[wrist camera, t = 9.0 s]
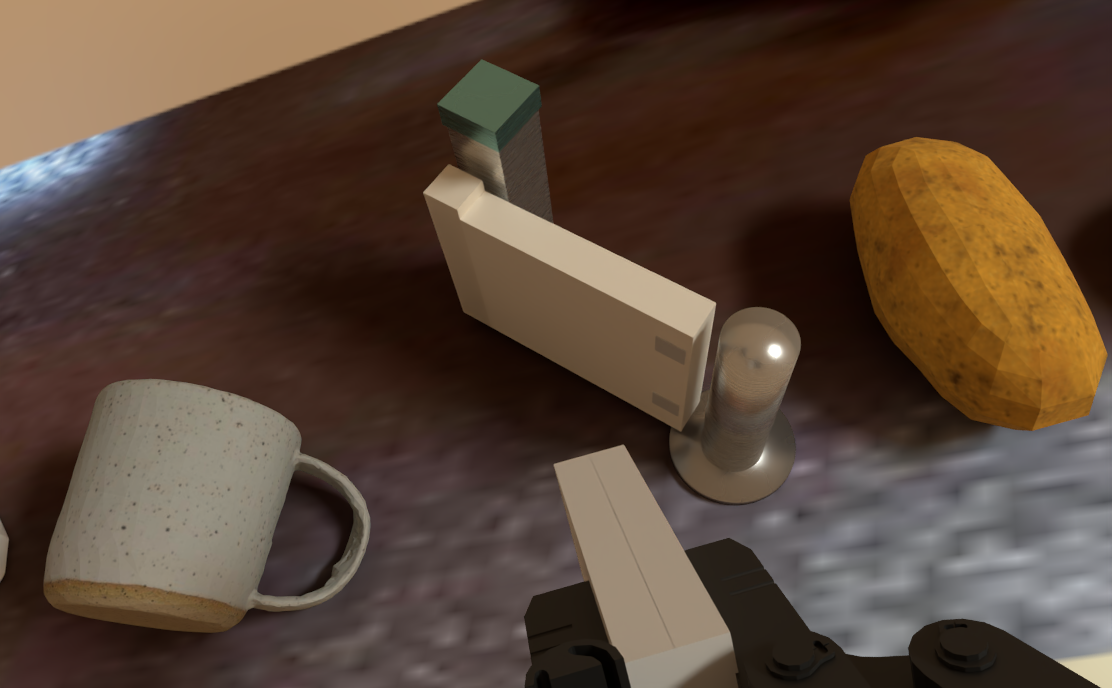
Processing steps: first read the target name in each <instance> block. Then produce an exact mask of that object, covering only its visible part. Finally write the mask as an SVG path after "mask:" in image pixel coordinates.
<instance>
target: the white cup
mask: <svg viewBox="0 0 1112 688" xmlns="http://www.w3.org/2000/svg"><path fill="white" fill-rule="evenodd" d="M8 544H9V538H8V536H7V533H6V531H5V529H4V526H3V524H2V522H1V520H0V582H1V580H2V578H3V577H4V575H5V570H6V561H7V552H8Z"/></svg>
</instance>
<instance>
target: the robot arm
mask: <svg viewBox="0 0 1112 688" xmlns="http://www.w3.org/2000/svg"><path fill="white" fill-rule="evenodd" d="M554 468H555V472H556V476H557V480H558V484H559V487H560V491H561V495H562V499H563V503H564V507H565V510H566V514H567V518H568V522H569V526H570V530H571V534H572V537H573V541H574V545H575V549H576V553H577V557H578V560H579V564H580V568H581V572H582V576H583V579H584V582H581V583H578V584H574V585H571V586H567V587H564V588H560V589H557V590H554V591H550V592H547V593H543V594H540V595H536V596H533V598H532V600H531V602H530V605H529V607H528V609H527V612H526V614H525V616H524V619H525V625H526V631H527V637H528V643H529V649H530V654H531V661H532V666H531V667H530V669H529V670H528V672H527V673H526V680H525V688H1100V687H1098V686H1097V685H1095V684H1093V683H1092V682H1090V681H1088V680H1087V679H1085V678H1083V677H1082V676H1080V675H1078V674H1077V673H1075V672H1073V671H1071V670H1070V669H1068V668H1066V667H1065V666H1063V665H1061V664H1060V663H1058V662H1056V661H1055V660H1053V659H1051V658H1049V657H1048V656H1046V655H1044V654H1043V653H1041V652H1039V651H1038V650H1036V649H1034V648H1033V647H1031V646H1029V645H1027V644H1026V643H1024V642H1022V641H1021V640H1019V639H1017V638H1016V637H1014V636H1012V635H1011V634H1009V633H1007V632H1006V631H1004V630H1001V629H999V628H997V627H994V626H992V625H990V624H987V623H985V622H979V621H973V620H967V619H953V620H941V621H938V622H935V623H932V624H929V625H926V626H924V627H923V628H922V629H921V630H919V631H918V632H917V633H916V634H914V635H913V637H912V639H911V642H910V645H909V647H908V650H909V656H890V657H860V656H854V655H849V654H845V652H844V651H843V650H842V648H841V647H839V646H838V645H837V644H836V643H835V642H834V641H832V640H831V639H830V638H828V637H826V636H823V635H820V634H818V633H815V632H812V631H810V630H809V628H808V627H807V626H806V624H805V623H804V622H803V620H802V619H801V617H800V616H799V615H798V613H797V612H796V610H795V609H794V608H793V606H792V605H791V604H790V602H789V601H788V599H787V598H786V597H785V595H784V594H783V593H782V591H781V590H780V588H779V587H778V586H777V584H776V583H775V584H774V581H773V579H772V577H771V576H770V575H769V573H768V572H767V571H766V569H765V570H764V567H763V565H762V564H761V562H760V561H759V560H758V558H757V557H756V555H755V554H754V553H753V551H752V550H751V549H749V548H748V547H746V546H744V545H742V544H740V543H738V542H736V541H734V540H732V539H730V538H727V539H723V540H720V541H716V542H713V543H709V544H706V545H702V546H699V547H695V548H692V549H688V550H685V551H684V550H683V548H682V546H681V545H680V543H679V541H678V539H677V538H676V536H675V534H674V532H673V530H672V529H671V527H670V525H669V523H668V522H667V520H666V518H665V516H664V515H663V513H662V511H661V509H660V508H659V506H658V504H657V502H656V500H655V499H654V497H653V495H652V493H651V492H650V490H649V488H648V486H647V485H646V483H645V481H644V479H643V478H642V476H641V474H640V472H639V471H638V469H637V467H636V465H635V463H634V462H633V460H632V458H631V456H630V455H629V453H628V451H627V449H626V448H625V446H624V445H621V446H617V447H613V448H610V449H606V450H602V451H599V452H595V453H592V454H588V455H584V456H581V457H577V458H574V459H570V460H566V461H563V462H559V463H556V464H554Z"/></svg>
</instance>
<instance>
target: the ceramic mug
mask: <svg viewBox="0 0 1112 688" xmlns="http://www.w3.org/2000/svg"><path fill="white" fill-rule="evenodd" d="M300 446H301V435H300V433H299V431H298V429H297V428H296V426H295V425H294V424H293V423H292V422H291V421H289V420H288V419H286V418H285V417H284V416H282V415H281V414H280V413H278V412H276V411H274V410H272V409H270V408H268V407H266V406H263V405H261V404H259V403H257V402H253V401H251V400H249V399H247V398H244V397H241V396H238V395H235V394H232V393H229V392H223V391H219V390H216V389H212V388H209V387H205V386H200V385H195V384H191V383H185V382H176V381H168V380H159V379H144V380H125V381H119V382H115V383H112V384H110V385H108V386H106V387H105V388H104V389H103V390H102V391H101V392H100V393H99V395H98V397H97V398H96V402H95V405H94V409H93V412H92V416H91V419H90V422H89V426H88V429H87V432H86V435H85V438H84V441H83V444H82V447H81V450H80V453H79V456H78V459H77V462H76V465H75V468H74V471H73V475H72V479H71V482H70V485H69V488H68V492H67V495H66V498H65V501H64V504H63V508H62V511H61V513H60V516H59V518H58V521H57V524H56V527H55V530H54V533H53V536H52V539H51V542H50V546H49V550H48V554H47V560H46V568H45V575H44V583H43V589H44V595H45V597H46V598H47V600H48V602H49V603H50V604H51V605H52V606H53V607H54V608H57V609H59V610H62V611H64V612H67V613H71V614H74V615H79V616H83V617H88V618H93V619H98V620H103V621H110V622H116V623H122V624H129V625H135V626H142V627H150V628H157V629H165V630H175V631H187V632H203V633H214V632H223V631H227V630H228V629H230V628H231V627H233V626H235V625H236V624H238V623H239V622H240V621H241V620H242V619H243V617H244V616H245V614H246V612H247V610H249V609H251V608H257V609H262V610H267V611H291V610H302V609H307V608H310V607H313V606H316V605H318V604H321V603H323V602H325V601H327V600H329V599H331V598H332V597H333V596H334V595H336V594H337V593H338V592H339V591H341V590H342V589H343V588H344V586H345V585H346V584H347V583H348V582H349V581H350V579H351V578H352V577H353V575H354V574H355V572H356V571H357V569H358V567H359V565H360V563H361V560H362V558H363V556H364V554H365V551H366V547H367V544H368V540H369V534H370V516H369V513H368V510H367V506H366V502H365V500H364V499H363V497H362V495H361V494H360V492H359V491H358V490H357V489H356V487H355V486H354V485H353V484H352V482H351V481H349V479H348V478H347V477H346V476H345V475H343V474H342V473H340V472H339V471H337V470H336V469H334V468H333V467H331V466H330V465H328V464H326V463H324V462H322V461H320V460H318V459H315V458H313V457H310V456H308V455H305V454H301V453H300V451H299V450H300ZM295 470H300V471H303V472H306V473H309V474H311V475H314V476H316V477H318V478H320V479H322V480H324V481H325V482H327V483H328V484H330V485H331V486H333V487H334V488H335V489H337V490H338V491H339V492H340V493H341V494H342V495H343V496H344V497H345V498H346V499H347V500H348V502H349V503H350V506H351V508H352V509H353V519H354V524H353V527H352V530H351V534H350V537H349V540H348V543H347V546H346V549H345V552H344V554H343V556H342V558H341V560H340V561H339V562H338V563H336V564H335V565H334V566H333V570H332V577H331V578H330V579H329V580H328V581H327V582H326V584H325V586H324V587H322V588H320V589H318V590H316V591H313V592H310V593H307V594H305V595H303V596H283V597H274V596H270V595H262V594H260V593H258V592H257V589H258V584H259V582H260V579H261V576H262V574H263V572H264V567H265V564H266V560H267V556H268V554H269V551H270V548H271V545H272V536H273V533H274V530H275V527H276V524H277V522H278V519H279V516H280V513H281V510H282V508H283V505H284V502H285V498H286V493H287V491H288V487H289V485H290V481H291V478H292V475H293V472H294V471H295Z"/></svg>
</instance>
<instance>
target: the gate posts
mask: <svg viewBox="0 0 1112 688" xmlns="http://www.w3.org/2000/svg"><path fill="white" fill-rule="evenodd" d="M437 106H438V109H439V113H440V117H441V120H442V124H443V125H445V126H447V127H448V131H449V135H450V139H451V142H452V146H453V150H454V153H455V157H456V161H457V165H458V168H459V169H460V170H462V171H464V172H466V173H468V174H470V175H472V176H474V177H476V178H478V179H481V180H482V181H483V185H484V190H485V191H486V192H488V193H491V194H493V195H495V196H497V197H499V198H501V199H503V200H505V201H507V202H509V203H511V204H513V205H515V206H517V207H519V208H521V209H524V210H526V211H528V212H530V213H532V214H534V215H536V216H538V217H540V218H542V219H544V220H546V221H548V222H550V223H552V224H553V217H552V210H551V202H550V195H549V187H548V180H547V172H546V165H545V157H544V150H543V142H542V135H541V127H540V120H539V112H538V110H539V109H540V108H541V106H542V105H541V97H540V90H539V85H537V84H534V83H532V82H530V81H528V80H526V79H523V78H521V77H519V76H517V75H515V74H512V73H510V72H508V71H506V70H504V69H502V68H499V67H497V66H495V65H493V64H491V63H488V62H486V61H484V60H481V61H480V62H479V63H478V64H477V65H476V66H475V67H474V68H473V69H472V70H471V71H470V72H469V73H468V74H467V75H466V76H465V77H464V78H463V79H462V80H461V81H460V82H459V83H458V84H457V85H456V86H455V87H454V88H453V89H452V90H451V91H450V92H449V93H448V94H447V95H446V96H445V97H444V98H443V99H442V100H441V101H440V102H439V103H438V104H437ZM800 349H801V340H800V335H799V333H798V330H797V329H796V327H795V325H794V324H793V323H792V322H791V321H790V320H789V319H788V318H787V317H786V316H784V315H783V314H781V313H779V312H777V311H775V310H772V309H769V308H763V307H751V308H746V309H743V310H740V311H738V312H736V313H735V314H733V315H732V316H731V317H729V318H728V320H727V321H726V322H725V324H724V325H723V327H722V330H721V333H720V338H719V344H718V349H717V354H716V360H715V365H714V370H713V375H712V381H711V386H710V390H707V391H704V392H702V393H701V396H700V402H699V404H698V405H697V407H696V408H695V410H694V412H693V413H692V415H691V416H690V418H689V420H688V421H687V423H686V424H685V426H684V428H683V429H682V431H679V430H677V429H675V428H673V427H671V430H670V437H669V449H670V455H671V459H672V462H673V464H674V467H675V469H676V471H677V472H678V474H679V476H680V477H681V478H682V480H683V481H684V482H685V483H686V484H687V485H688V486H689V487H690V488H691V489H693V490H694V491H695V492H696V493H698V494H700V495H701V496H703V497H705V498H707V499H709V500H712V501H715V502H718V503H722V504H728V505H743V504H749V503H754V502H757V501H760V500H762V499H764V498H766V497H768V496H770V495H771V494H772V493H774V492H775V491H776V490H777V489H778V488H780V487H781V485H782V484H783V483H784V482H785V480H786V479H787V477H788V475H789V473H790V471H791V469H792V466H793V464H794V459H795V451H796V446H795V438H794V434H793V431H792V428H791V426H790V424H789V422H788V420H787V418H786V417H785V415H784V414H783V413H782V412H781V410H780V409H779V407H780V404H781V402H782V399H783V396H784V394H785V391H786V388H787V385H788V383H789V380H790V377H791V375H792V372H793V369H794V366H795V364H796V361H797V358H798V356H799V353H800Z"/></svg>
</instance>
